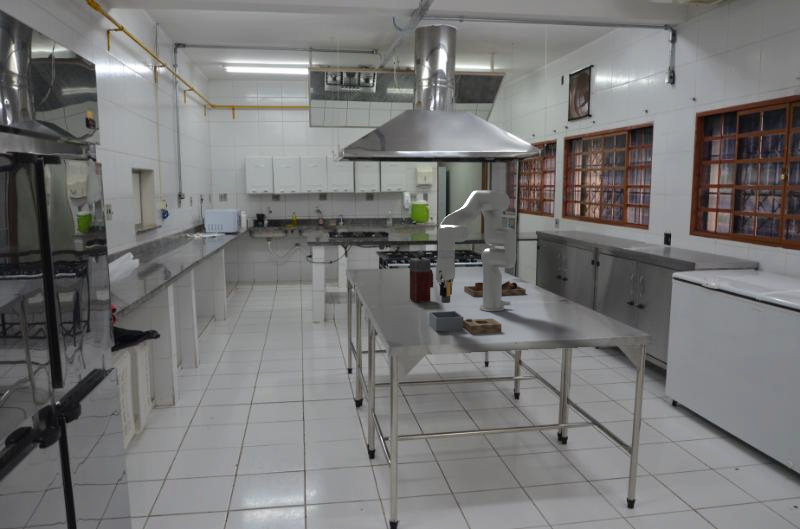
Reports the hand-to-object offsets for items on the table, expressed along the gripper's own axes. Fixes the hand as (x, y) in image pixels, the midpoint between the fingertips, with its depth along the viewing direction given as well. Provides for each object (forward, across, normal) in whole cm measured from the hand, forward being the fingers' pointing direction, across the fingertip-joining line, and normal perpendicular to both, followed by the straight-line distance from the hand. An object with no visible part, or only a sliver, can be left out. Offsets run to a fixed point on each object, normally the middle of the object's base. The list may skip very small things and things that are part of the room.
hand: (445, 294), depth 252 cm
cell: (+3, 0, 0) cm, 3 cm away
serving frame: (+14, -88, -17) cm, 91 cm away
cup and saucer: (+15, -82, -22) cm, 87 cm away
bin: (+15, 0, 0) cm, 15 cm away
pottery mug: (+14, -93, -9) cm, 94 cm away
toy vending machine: (+15, -47, -41) cm, 64 cm away
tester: (+15, -6, +15) cm, 22 cm away
